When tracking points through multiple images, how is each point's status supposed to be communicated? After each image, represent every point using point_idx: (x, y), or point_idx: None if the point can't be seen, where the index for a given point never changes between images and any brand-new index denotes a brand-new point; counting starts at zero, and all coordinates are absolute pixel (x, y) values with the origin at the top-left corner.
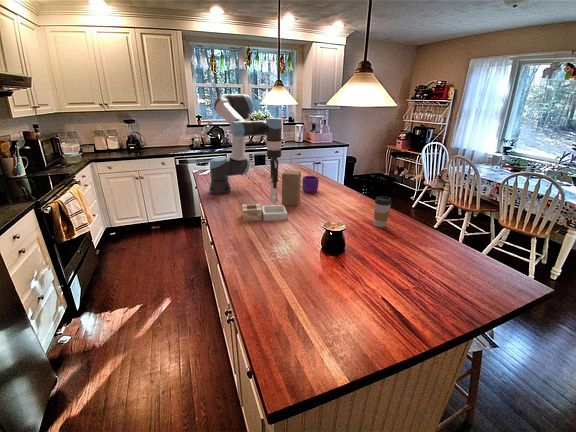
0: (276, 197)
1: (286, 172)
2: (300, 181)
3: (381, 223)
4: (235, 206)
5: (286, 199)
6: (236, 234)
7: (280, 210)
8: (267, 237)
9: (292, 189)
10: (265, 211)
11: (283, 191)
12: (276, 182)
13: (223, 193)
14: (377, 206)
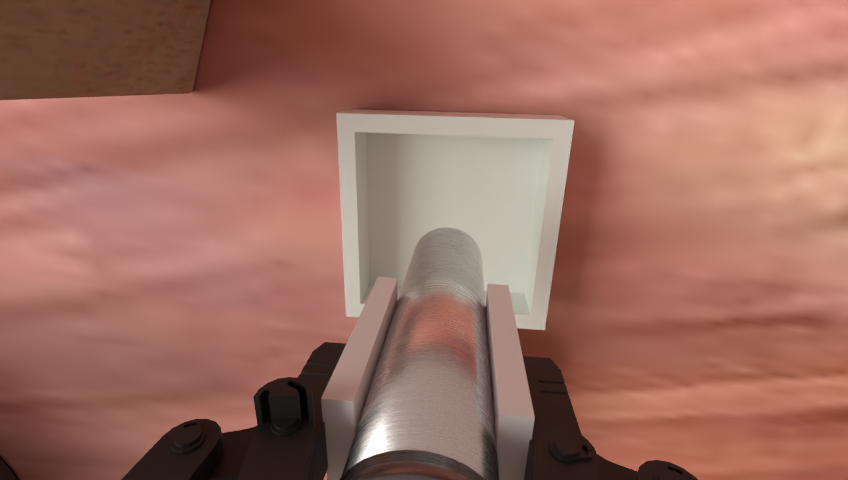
0: (475, 262)
1: None
2: None
3: None
4: (235, 429)
5: (163, 44)
6: (691, 470)
7: (367, 143)
8: (823, 321)
9: None
10: (376, 270)
11: (83, 78)
12: (532, 426)
13: (5, 474)
14: None
